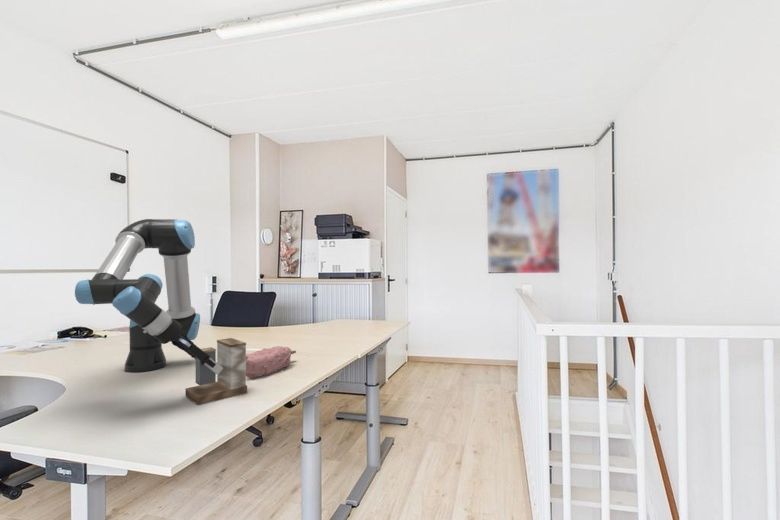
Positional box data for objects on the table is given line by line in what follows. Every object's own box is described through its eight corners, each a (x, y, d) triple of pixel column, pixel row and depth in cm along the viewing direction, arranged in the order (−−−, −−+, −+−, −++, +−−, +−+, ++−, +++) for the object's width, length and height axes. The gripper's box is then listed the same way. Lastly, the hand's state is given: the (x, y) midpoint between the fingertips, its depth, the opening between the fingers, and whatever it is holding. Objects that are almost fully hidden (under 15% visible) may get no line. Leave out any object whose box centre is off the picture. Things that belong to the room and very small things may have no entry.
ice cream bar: (305, 343, 172) (255, 359, 145) (305, 363, 172) (255, 382, 145) (283, 341, 178) (230, 355, 151) (283, 359, 178) (230, 377, 150)
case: (199, 385, 125) (199, 351, 125) (195, 382, 128) (195, 349, 128) (215, 382, 129) (215, 349, 129) (211, 379, 132) (211, 347, 132)
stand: (198, 405, 121) (198, 350, 121) (185, 395, 130) (185, 344, 130) (247, 392, 133) (247, 342, 133) (232, 384, 141) (232, 337, 141)
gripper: (146, 333, 124) (200, 374, 135) (161, 340, 112) (219, 385, 123) (164, 315, 128) (215, 356, 139) (181, 320, 116) (235, 365, 127)
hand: (217, 369), depth 131 cm, fingers closed on case, 4 cm apart
